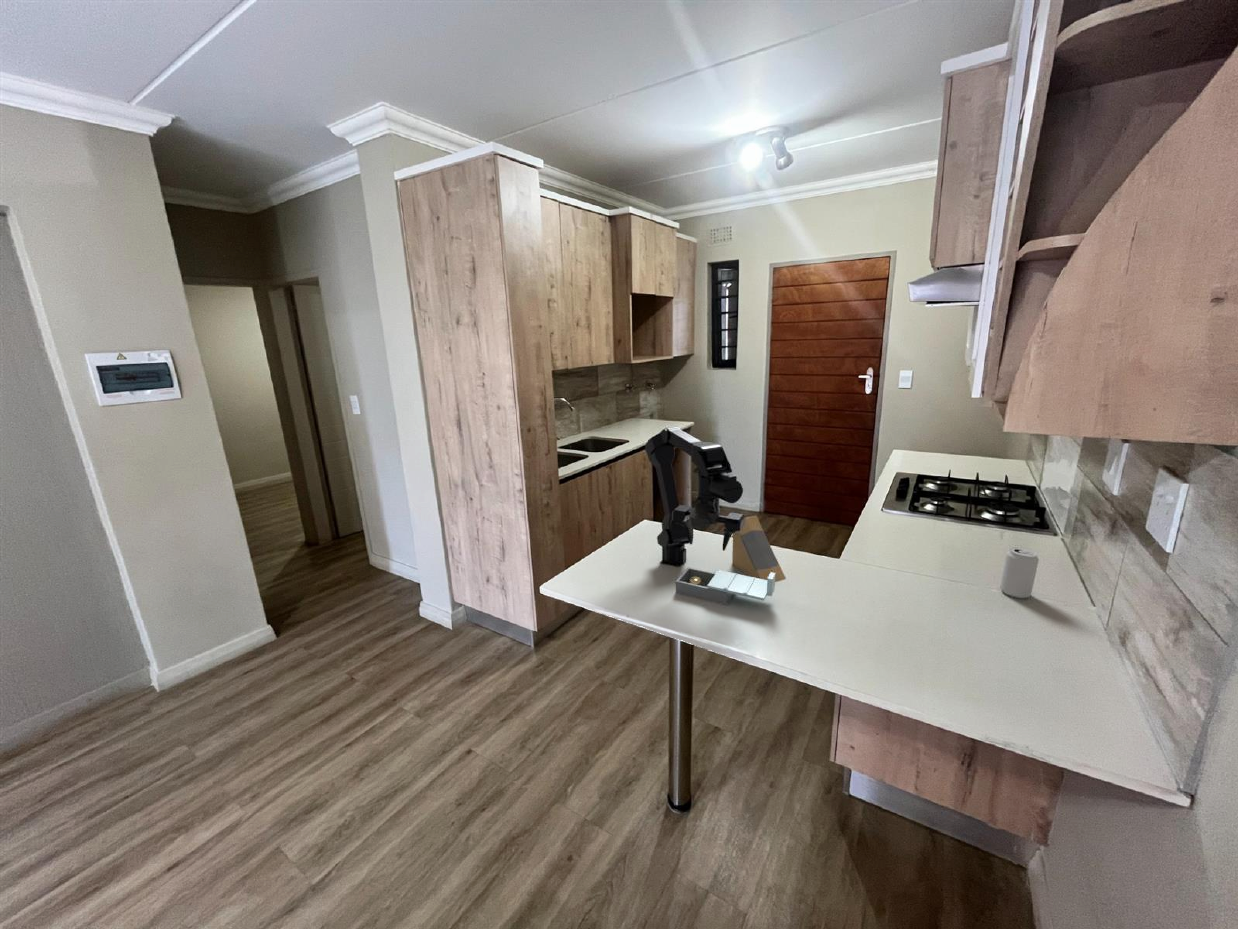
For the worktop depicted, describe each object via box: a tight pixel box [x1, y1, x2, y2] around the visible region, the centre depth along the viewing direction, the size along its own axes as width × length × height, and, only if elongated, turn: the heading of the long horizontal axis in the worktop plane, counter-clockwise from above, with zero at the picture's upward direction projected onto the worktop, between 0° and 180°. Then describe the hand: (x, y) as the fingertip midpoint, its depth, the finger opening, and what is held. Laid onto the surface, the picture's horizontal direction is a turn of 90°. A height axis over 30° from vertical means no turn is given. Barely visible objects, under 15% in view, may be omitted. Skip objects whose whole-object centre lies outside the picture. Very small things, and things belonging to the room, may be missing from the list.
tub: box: [675, 566, 734, 606], centre depth 130 cm, size 14×9×4 cm, turn 61°
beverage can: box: [999, 546, 1040, 599], centre depth 124 cm, size 6×6×12 cm
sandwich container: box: [731, 515, 787, 583], centre depth 138 cm, size 9×15×15 cm, turn 23°
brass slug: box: [690, 577, 701, 586], centre depth 131 cm, size 3×3×3 cm
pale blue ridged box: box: [707, 569, 776, 602], centre depth 124 cm, size 16×9×5 cm, turn 61°
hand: (707, 547), depth 130 cm, fingers open, 9 cm apart
